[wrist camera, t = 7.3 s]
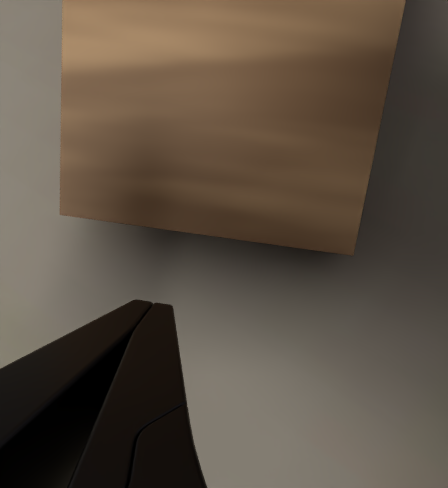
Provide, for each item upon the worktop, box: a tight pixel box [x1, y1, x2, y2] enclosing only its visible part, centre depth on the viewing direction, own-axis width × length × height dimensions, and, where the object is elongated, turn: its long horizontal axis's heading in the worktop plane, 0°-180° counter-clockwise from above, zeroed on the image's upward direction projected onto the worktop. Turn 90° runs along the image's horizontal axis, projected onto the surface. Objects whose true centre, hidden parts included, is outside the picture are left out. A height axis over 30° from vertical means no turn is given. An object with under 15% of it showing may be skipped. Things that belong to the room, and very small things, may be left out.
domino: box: [60, 0, 406, 256], centre depth 15 cm, size 2×11×12 cm
